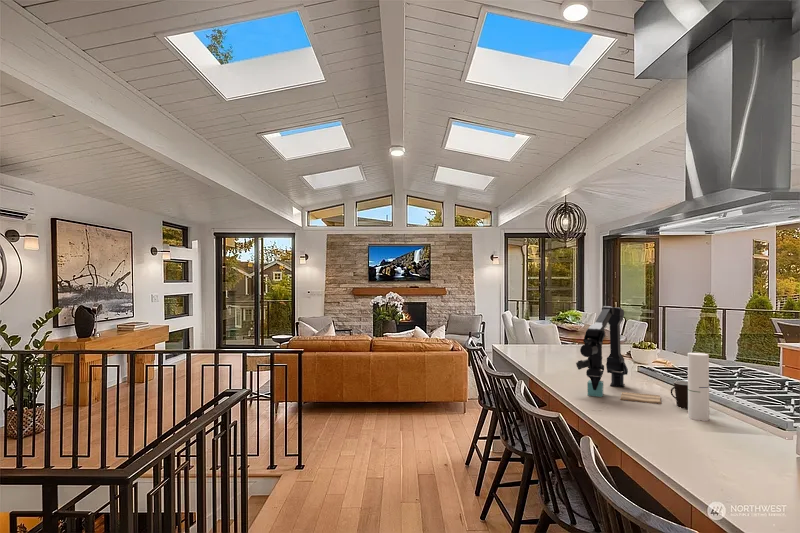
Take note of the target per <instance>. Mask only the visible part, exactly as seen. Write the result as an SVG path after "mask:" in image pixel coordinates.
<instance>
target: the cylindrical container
mask: <svg viewBox="0 0 800 533" xmlns="http://www.w3.org/2000/svg"><path fill="white" fill-rule="evenodd" d="M709 358H710V356H709V353H704V352H687V382H688V409H687V418H688V419H690V420H695V421H700V420H702V422H703V421H705V422H707V421H709V420H710V363H709V362H710V361H709V360H710V359H709Z"/></svg>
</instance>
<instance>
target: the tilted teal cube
mask: <svg viewBox="0 0 800 533" xmlns="http://www.w3.org/2000/svg"><path fill="white" fill-rule="evenodd" d="M587 396H589V397H590V396H591V397H600V398H603V397H604V380H600V381H599V384H598V386H597V389H596V390H593V386H592V382H591V379H589V380H588V381H587Z"/></svg>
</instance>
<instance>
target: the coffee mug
mask: <svg viewBox="0 0 800 533" xmlns="http://www.w3.org/2000/svg"><path fill="white" fill-rule="evenodd" d="M673 391H674V393H673ZM670 394H671V396H672V397H673V398H674V399H675V401H676V407H677V406H678V407H677V408H680V407H681V408H680V409H686V408H687V410H688V380H687V381H685V380H676V381H673V387H671V389H670Z"/></svg>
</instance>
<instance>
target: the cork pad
mask: <svg viewBox="0 0 800 533" xmlns="http://www.w3.org/2000/svg"><path fill="white" fill-rule="evenodd" d="M619 400H620V401H625V400H628V401H627V402H635V401H638V402H637V403H645V402H647V403H648V404H655V403H658V404H657V405H661V404H662V402H661V394H660V395H659V394H649V393H640V392H639V393H637V392H629V391H628V392H626V391H622V392H621V394H620V399H619ZM647 403H646V404H647Z"/></svg>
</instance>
